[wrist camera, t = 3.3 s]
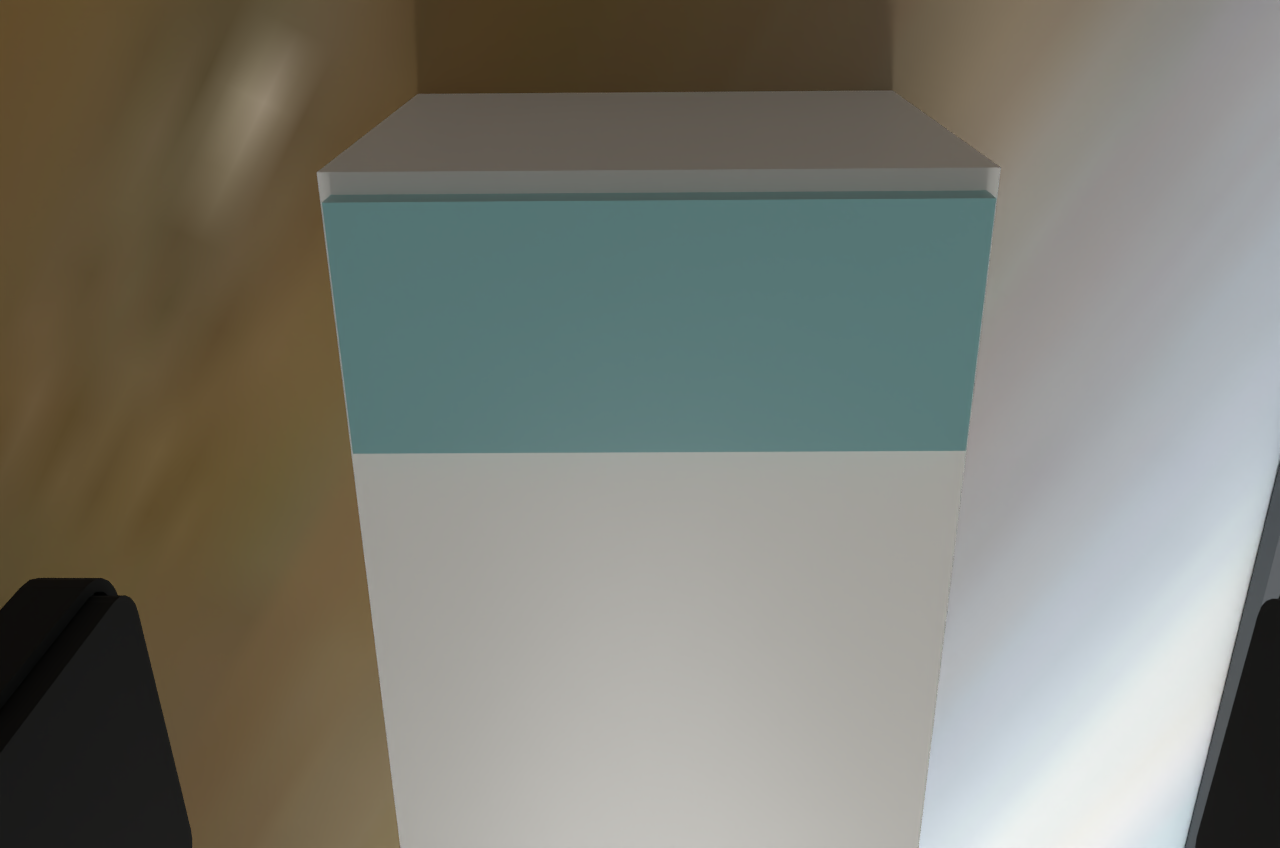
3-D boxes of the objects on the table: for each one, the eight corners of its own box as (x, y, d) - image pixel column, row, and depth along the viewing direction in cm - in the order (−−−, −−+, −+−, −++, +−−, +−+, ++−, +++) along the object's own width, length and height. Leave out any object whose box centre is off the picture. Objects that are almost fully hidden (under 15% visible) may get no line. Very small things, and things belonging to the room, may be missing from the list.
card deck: (839, 719, 19) (907, 1003, 14) (473, 721, 19) (412, 1002, 14) (889, 88, 14) (1010, 174, 10) (420, 91, 15) (306, 179, 10)
